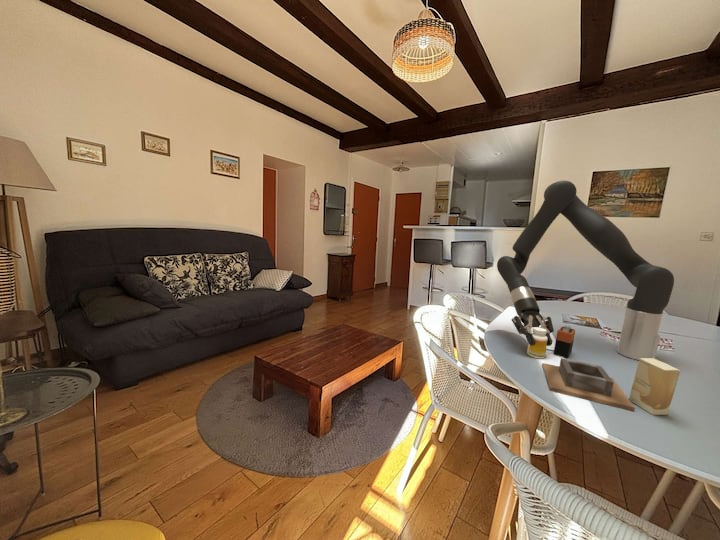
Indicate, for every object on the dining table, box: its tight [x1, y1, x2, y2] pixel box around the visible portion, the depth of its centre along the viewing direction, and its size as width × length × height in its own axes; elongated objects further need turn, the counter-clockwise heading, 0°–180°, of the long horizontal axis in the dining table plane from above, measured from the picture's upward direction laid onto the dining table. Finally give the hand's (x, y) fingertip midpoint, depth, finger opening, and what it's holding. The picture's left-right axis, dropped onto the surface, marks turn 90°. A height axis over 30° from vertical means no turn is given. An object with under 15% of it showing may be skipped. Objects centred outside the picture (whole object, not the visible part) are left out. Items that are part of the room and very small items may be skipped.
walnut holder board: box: [541, 357, 636, 412], centre depth 83 cm, size 18×16×5 cm
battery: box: [553, 324, 576, 359], centre depth 103 cm, size 4×7×10 cm, turn 135°
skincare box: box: [628, 358, 681, 416], centre depth 73 cm, size 6×4×12 cm
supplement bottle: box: [526, 326, 548, 359], centre depth 101 cm, size 5×5×10 cm
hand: (541, 344), depth 99 cm, fingers closed on supplement bottle, 5 cm apart
